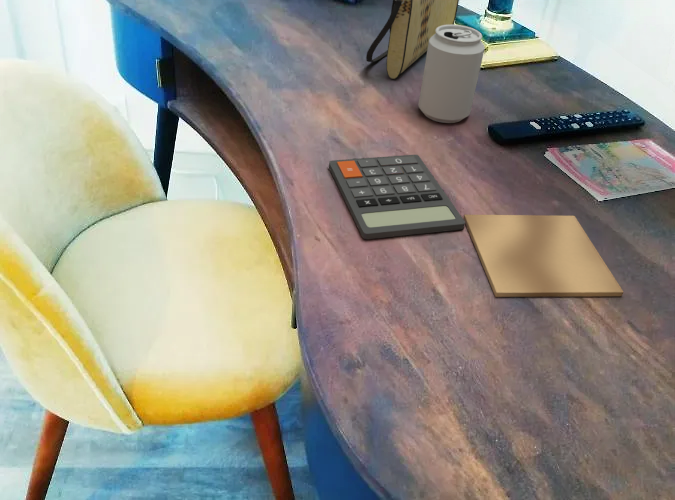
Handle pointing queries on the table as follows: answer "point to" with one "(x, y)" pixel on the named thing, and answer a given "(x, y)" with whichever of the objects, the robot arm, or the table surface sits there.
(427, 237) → the table surface
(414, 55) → the clutch purse
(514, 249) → the cork mat
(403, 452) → the table surface
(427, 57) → the can
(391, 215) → the calculator
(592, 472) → the table surface
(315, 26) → the table surface
